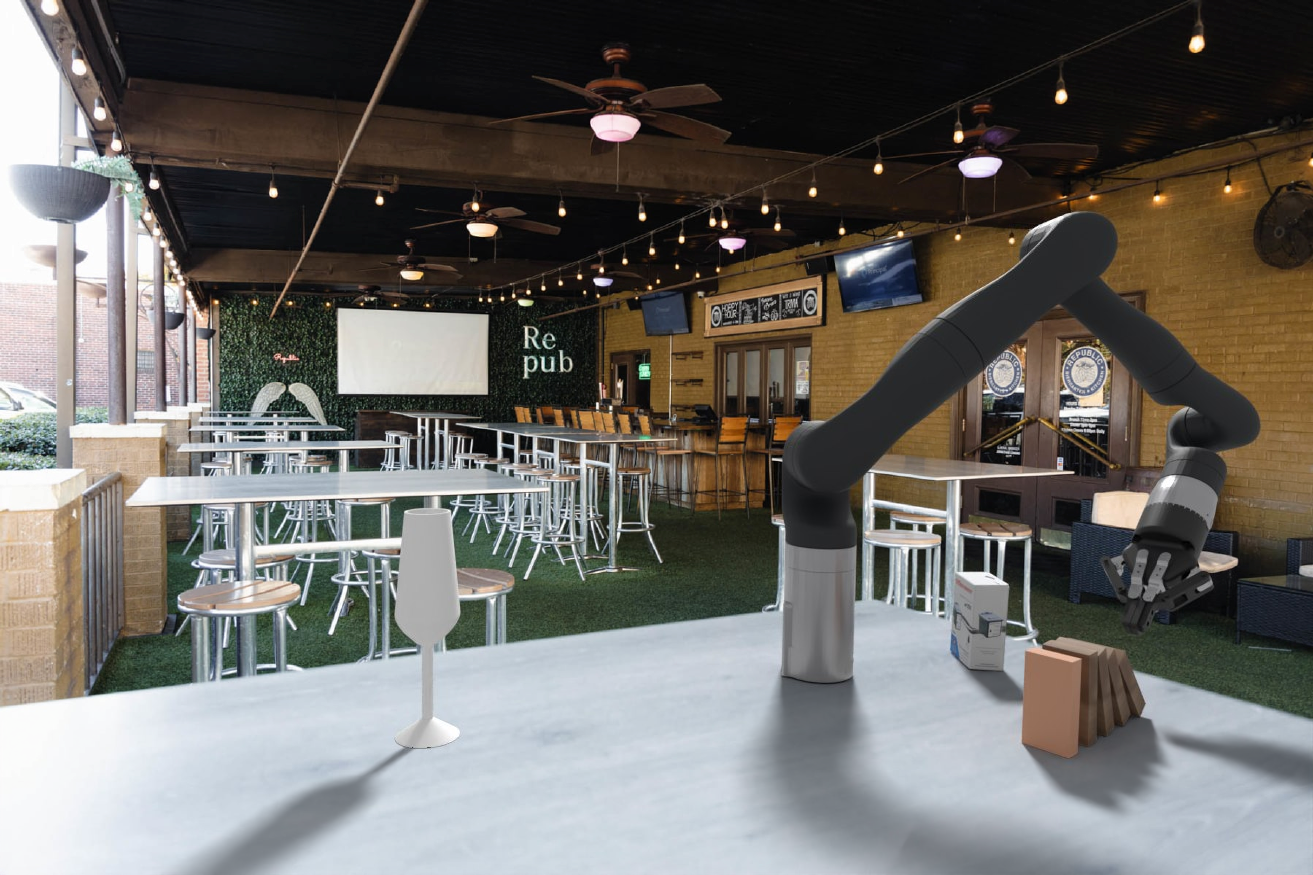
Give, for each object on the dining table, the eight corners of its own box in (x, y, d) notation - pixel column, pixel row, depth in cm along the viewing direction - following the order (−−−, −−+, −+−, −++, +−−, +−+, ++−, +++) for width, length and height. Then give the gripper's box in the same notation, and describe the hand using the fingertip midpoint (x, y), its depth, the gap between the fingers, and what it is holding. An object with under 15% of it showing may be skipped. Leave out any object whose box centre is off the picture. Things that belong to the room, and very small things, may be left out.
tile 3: (1068, 713, 99) (1059, 636, 96) (1114, 726, 95) (1106, 647, 92) (1060, 722, 97) (1051, 645, 95) (1106, 736, 94) (1098, 656, 91)
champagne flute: (428, 718, 96) (428, 505, 94) (473, 731, 92) (473, 510, 91) (380, 738, 90) (380, 512, 89) (427, 753, 87) (426, 518, 85)
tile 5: (1030, 737, 93) (1034, 647, 92) (1077, 753, 89) (1081, 658, 88) (1021, 742, 92) (1025, 650, 91) (1068, 758, 88) (1072, 662, 87)
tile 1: (1101, 691, 104) (1079, 639, 99) (1145, 703, 100) (1125, 650, 95) (1095, 704, 103) (1073, 653, 98) (1139, 717, 99) (1118, 664, 95)
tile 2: (1085, 701, 101) (1068, 637, 98) (1130, 713, 97) (1114, 648, 94) (1078, 713, 100) (1060, 649, 96) (1123, 726, 96) (1107, 660, 93)
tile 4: (1050, 726, 96) (1051, 639, 95) (1096, 740, 92) (1097, 650, 91) (1041, 732, 95) (1042, 644, 94) (1088, 746, 91) (1089, 655, 90)
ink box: (949, 651, 124) (952, 570, 123) (984, 651, 124) (987, 571, 123) (969, 670, 115) (972, 584, 115) (1007, 671, 115) (1010, 584, 114)
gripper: (1113, 495, 112) (1066, 601, 105) (1229, 506, 102) (1185, 625, 95) (1128, 531, 116) (1084, 636, 109) (1242, 545, 106) (1201, 662, 99)
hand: (1131, 630), depth 102 cm, fingers closed
